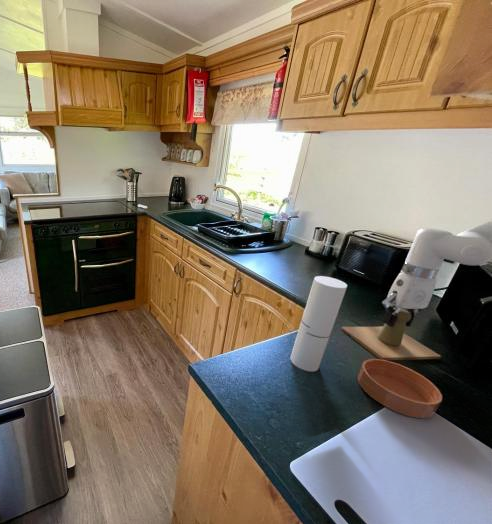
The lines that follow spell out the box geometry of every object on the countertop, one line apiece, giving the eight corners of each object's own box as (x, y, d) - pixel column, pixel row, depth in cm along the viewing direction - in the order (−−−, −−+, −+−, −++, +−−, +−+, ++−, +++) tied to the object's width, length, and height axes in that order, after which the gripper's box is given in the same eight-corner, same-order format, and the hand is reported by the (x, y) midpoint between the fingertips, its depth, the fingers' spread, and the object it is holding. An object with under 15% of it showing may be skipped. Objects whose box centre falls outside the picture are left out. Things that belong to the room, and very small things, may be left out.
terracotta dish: (391, 371, 80) (397, 358, 78) (451, 417, 66) (460, 402, 65) (343, 373, 78) (348, 359, 76) (394, 421, 64) (402, 405, 63)
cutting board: (391, 328, 102) (392, 326, 101) (440, 358, 87) (441, 356, 87) (340, 329, 99) (341, 326, 99) (382, 360, 84) (383, 357, 84)
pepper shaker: (373, 336, 94) (385, 306, 90) (383, 332, 96) (396, 303, 93) (394, 347, 89) (408, 316, 85) (405, 343, 91) (419, 313, 87)
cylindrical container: (303, 352, 85) (328, 275, 77) (324, 369, 79) (354, 286, 70) (284, 356, 83) (307, 277, 74) (304, 373, 77) (332, 289, 68)
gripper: (406, 275, 80) (382, 331, 86) (458, 276, 82) (431, 330, 88) (382, 265, 87) (361, 318, 93) (430, 266, 89) (407, 317, 95)
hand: (396, 323), depth 90 cm, fingers closed on pepper shaker, 5 cm apart
